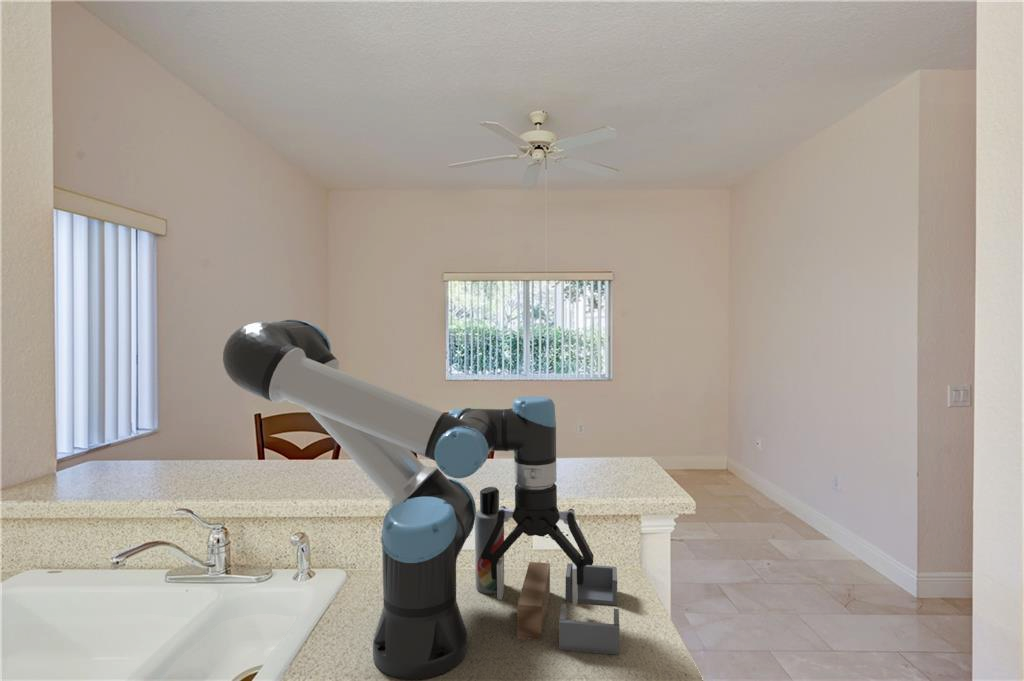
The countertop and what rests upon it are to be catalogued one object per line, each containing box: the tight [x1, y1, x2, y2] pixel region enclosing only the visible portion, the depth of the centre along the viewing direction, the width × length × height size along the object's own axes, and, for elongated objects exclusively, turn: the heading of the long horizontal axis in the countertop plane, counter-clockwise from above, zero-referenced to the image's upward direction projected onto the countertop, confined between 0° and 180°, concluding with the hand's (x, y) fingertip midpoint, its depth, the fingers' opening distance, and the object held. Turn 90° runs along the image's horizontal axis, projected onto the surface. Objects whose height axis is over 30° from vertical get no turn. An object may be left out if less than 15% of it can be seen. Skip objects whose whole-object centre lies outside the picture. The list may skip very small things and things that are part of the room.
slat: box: [517, 561, 551, 641], centre depth 103 cm, size 4×16×6 cm, turn 171°
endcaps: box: [558, 563, 620, 656], centre depth 102 cm, size 10×21×5 cm, turn 171°
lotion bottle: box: [474, 486, 505, 595], centre depth 112 cm, size 6×6×20 cm
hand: (537, 598), depth 103 cm, fingers open, 13 cm apart
